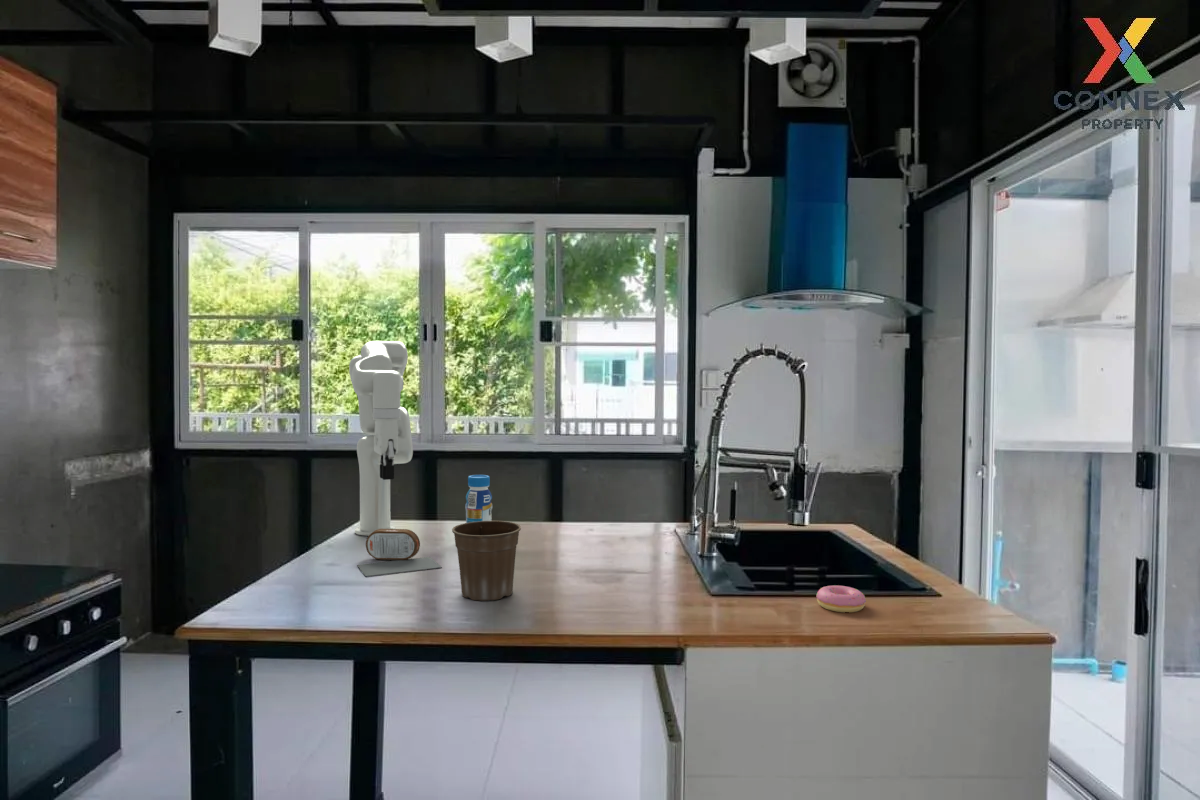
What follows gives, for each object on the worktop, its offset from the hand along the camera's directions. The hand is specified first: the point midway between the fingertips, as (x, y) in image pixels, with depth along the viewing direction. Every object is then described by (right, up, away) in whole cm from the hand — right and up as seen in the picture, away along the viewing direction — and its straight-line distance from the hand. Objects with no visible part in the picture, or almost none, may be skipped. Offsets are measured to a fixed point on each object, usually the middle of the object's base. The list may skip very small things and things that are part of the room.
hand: (386, 478), depth 216 cm
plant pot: (+34, -24, -35) cm, 55 cm away
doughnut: (+117, -26, -42) cm, 127 cm away
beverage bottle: (+23, -22, +21) cm, 38 cm away
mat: (+7, -23, -12) cm, 27 cm away
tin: (+3, -22, -5) cm, 23 cm away
